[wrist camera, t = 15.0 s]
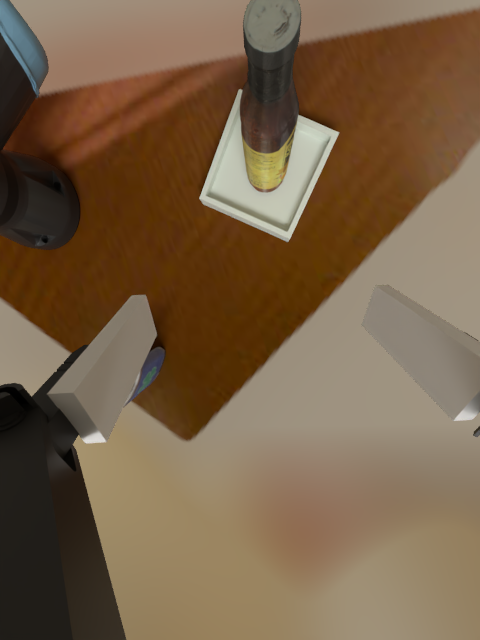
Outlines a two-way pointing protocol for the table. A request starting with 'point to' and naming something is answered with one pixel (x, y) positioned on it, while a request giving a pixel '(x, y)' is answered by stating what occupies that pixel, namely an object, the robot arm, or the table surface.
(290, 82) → the sauce bottle
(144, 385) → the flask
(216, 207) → the tray
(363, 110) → the table surface
